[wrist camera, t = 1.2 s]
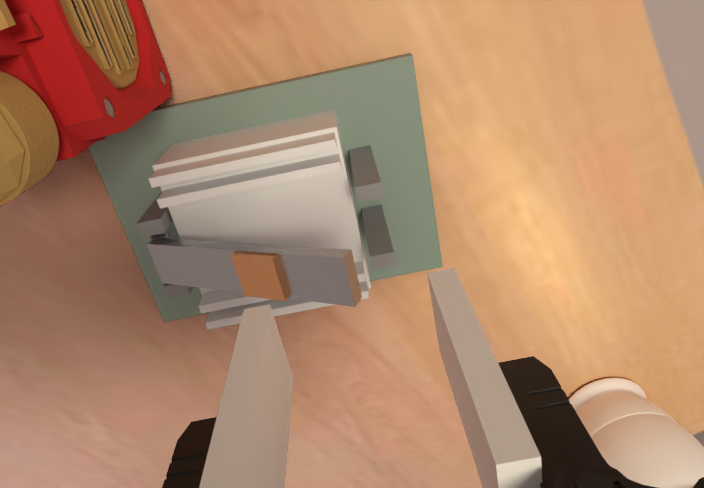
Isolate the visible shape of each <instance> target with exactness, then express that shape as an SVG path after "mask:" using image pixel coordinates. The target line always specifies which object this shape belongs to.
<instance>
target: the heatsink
mask: <svg viewBox="0 0 704 488" xmlns="http://www.w3.org/2000/svg"><path fill="white" fill-rule="evenodd" d="M104 137H107V136H104ZM88 148H89V151H90V153H91V155H92V157H93V160H94V162H95V164H96V167H97V169H98V171H99V174H100V176H101V178H102V180H103V183H104V185H105V187H106V190H107V192H108V194H109V196H110V199H111V201H112V203H113V206H114V208H115V210H116V213H117V215H118V217H119V219H120V222H121V224H122V226H123V229H124V231H125V233H126V236H127V238H128V240H129V242H130V245H131V247H132V249H133V252H134V254H135V256H136V259H137V261H138V263H139V265H140V268H141V270H142V272H143V275H144V277H145V279H146V282H147V284H148V286H149V288H150V291H151V293H152V295H153V298H154V300H155V302H156V305H157V307H158V309H159V311H160V314H161V316H162V318H163V321H164V322H166V321H171V320H176V319H181V318H186V317H191V316H197V315H202V314H207V313H208V316H207V318H206V321H205V324H206V327H207V329H208V330H209V329H214V328H219V327H224V326H229V325H234V324H240V322H241V318H242V314H243V310H244V309H247V308H253V307H258V306H263V305H268V304H270V306H271V309H272V313H273V316H274V317H275V316H280V315H286V314H291V313H296V312H301V311H306V310H311V309H316V308H321V307H326V306H332V305H337V304H329V303H321V302H313V301H304V300H296V299H287V300H286V301H280V300H272V299H264V298H256V297H249V296H244V293H239V292H231V291H223V290H215V289H207V288H198V287H190V286H182V285H174V284H166V283H162V281H161V278H160V276H159V274H158V271H157V269H156V266H155V264H154V262H153V259H152V257H151V255H150V252H149V250H148V247H147V245H146V244H147V243H148V242H150V241H151V239H150V236H152V235H157V234H162V233H166V231H167V230H168V232H169V235H170V237H171V238H173V239H189V240H205V241H221V242H237V243H253V244H269V245H285V246H301V247H317V248H333V249H349V250H352V254H353V259H354V263H355V268H356V272H357V276H358V281H359V285H360V290H361V294H362V298H361V300H362V299H367V298H369V291H368V288H371V284H370V281H374V280H379V279H384V278H389V277H394V276H399V275H404V274H410V273H415V272H420V271H425V270H430V269H435V268H440V267H442V260H441V253H440V245H439V238H438V231H437V224H436V217H435V210H434V203H433V196H432V189H431V182H430V175H429V168H428V160H427V153H426V146H425V139H424V132H423V125H422V118H421V111H420V104H419V97H418V90H417V83H416V75H415V68H414V61H413V55H412V54H410V53H409V54H404V55H400V56H395V57H390V58H386V59H381V60H377V61H372V62H367V63H363V64H358V65H353V66H349V67H344V68H340V69H335V70H330V71H326V72H321V73H316V74H312V75H307V76H303V77H298V78H293V79H289V80H284V81H280V82H275V83H270V84H266V85H261V86H256V87H252V88H247V89H243V90H238V91H233V92H229V93H224V94H219V95H215V96H210V97H206V98H201V99H196V100H192V101H187V102H183V103H178V104H173V105H169V106H164V107H159V108H155V109H154V110H152V111H151V112H150V113H148V114H147V115H146V116H144V117H143V118H142V119H140V120H139V121H138V122H136V123H135V124H134V125H132V126H131V127H130V128H129V129H127V130H126V131H124V132H120V133H116V134H112V135H108V137H107V138H105V139H104V140H100V141H97V142H96V143H94V144H93V145H91V146H90V147H88Z"/></svg>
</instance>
